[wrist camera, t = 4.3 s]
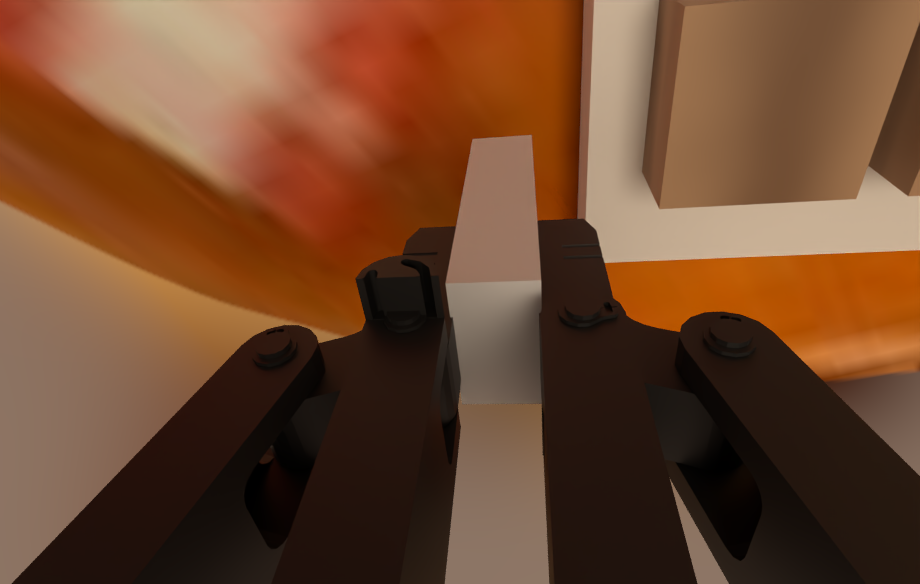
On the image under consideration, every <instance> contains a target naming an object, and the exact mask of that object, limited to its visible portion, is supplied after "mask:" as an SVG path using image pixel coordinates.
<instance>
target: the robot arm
mask: <svg viewBox="0 0 920 584" xmlns="http://www.w3.org/2000/svg"><path fill="white" fill-rule="evenodd" d="M356 283H357V287H358V290H359V294H360V298H361V302H362V306H363V310H364V314H365V318H366V321H365V324H364V327H363V330H362V331H360V332H358V333H355V334H352V335H349V336H346V337H343V338H339V339H335V340H331V341H326V342H323V343H318V340H317V337H316V335H314V333H313V332H312V331H311V330H310V329H308V328H305V327H302V326H299V325H283V326H279V327H274V328H271V329H267V330H265V331H263V332H261V333H259V334H257V335H255V336H253V337H252V338H250V339H249V340H248V341H247V342H246V343H244V344H243V345H241V347H240V348H239V349H238V350H237V351H236V352H235V353H234V354H233V355H232V356H231V357H230V358H229V359H228V360H227V361H226V362H225V363H224V364H223V365H222V366H221V367H220V369H218V370H217V371H216V372H215V374H214V375H213V376H212V377H211V378H210V379H209V380H208V381H207V382H206V383H205V384H204V385H203V386H202V387H201V388H200V389H199V390H198V391H197V392H196V393H195V394H194V395H193V396H192V397H191V398H190V399H189V400H188V402H187V403H186V404H185V405H184V406H183V407H182V408H181V409H180V410H179V411H178V412H177V413H176V414H175V415H174V416H173V417H172V418H171V419H170V420H169V421H168V422H167V423H166V424H165V425H164V426H163V427H162V428H161V429H160V430H159V431H158V433H157V434H156V435H155V436H154V437H153V438H152V439H151V440H150V441H149V442H148V443H147V444H146V445H145V446H144V447H143V448H142V449H141V450H140V451H139V452H138V453H137V454H136V455H135V456H134V458H132V459H131V460H130V462H129V463H128V464H127V465H126V466H125V467H124V468H123V469H122V470H121V471H120V472H119V473H118V474H117V475H116V476H115V477H114V478H113V479H112V480H111V481H110V482H109V483H108V484H107V485H106V486H105V487H104V488H103V490H102V491H101V492H100V493H99V494H98V495H97V496H96V497H95V498H94V499H93V500H92V501H91V502H90V503H89V504H88V505H87V506H86V507H85V508H84V509H83V510H82V511H81V512H80V513H79V514H78V516H77V517H76V518H75V519H74V520H73V521H72V522H71V523H70V524H69V525H68V526H67V527H66V528H65V529H64V530H63V531H62V532H61V533H60V534H59V535H58V536H57V537H56V538H55V540H53V541H52V542H51V543H50V545H48V547H47V548H46V549H45V550H44V551H43V552H42V553H41V554H40V555H39V556H38V557H37V558H36V559H35V560H34V561H33V562H32V563H31V564H30V565H29V566H28V567H27V568H26V569H25V571H23V572H22V573H21V575H19V577H18V578H17V579H16V580H15V581H14V582H13V583H12V584H445V574H446V564H447V555H448V545H449V535H450V526H451V525H450V524H451V516H452V506H453V496H454V487H455V476H456V468H457V458H458V447H459V439H460V429H461V426H460V420H459V412H458V402H459V393H460V392H461V399H462V404H542V440H543V455H544V476H545V496H546V497H545V498H546V520H547V541H548V561H549V562H548V563H549V583H550V584H697V581H696V577H695V573H694V569H693V565H692V562H691V558H690V554H689V551H688V546H687V543H686V539H685V536H684V531H683V528H682V524H681V520H680V516H679V512H678V509H677V505H676V501H675V497H674V493H673V490H672V486H671V482H670V479H671V481H672V483H673V485H674V486H675V488H676V490H677V492H678V494H679V495H680V497H681V499H682V501H683V502H684V504H685V506H686V508H687V510H688V511H689V513H690V515H691V517H692V518H693V520H694V522H695V524H696V526H697V527H698V529H699V531H700V533H701V535H702V536H703V538H704V540H705V541H706V543H707V545H708V547H709V549H710V551H711V552H712V554H713V556H714V558H715V560H716V561H717V563H718V565H719V566H720V568H721V570H722V572H723V574H724V576H725V577H726V579H727V581H728V582H729V584H920V476H919V475H918V474H917V473H916V472H915V471H914V470H913V469H912V468H911V467H910V466H909V465H908V464H907V463H906V462H905V461H904V460H903V459H902V458H901V457H900V456H899V455H898V454H897V453H896V452H895V451H894V450H893V449H892V448H891V447H890V446H889V445H888V444H887V443H886V442H885V441H884V440H883V439H882V438H880V437H879V436H878V435H877V434H876V433H875V432H874V431H873V430H872V429H871V428H870V427H869V426H868V425H867V424H866V423H865V422H864V421H863V420H862V419H861V418H860V417H859V416H858V415H857V414H856V413H855V412H854V411H853V410H852V409H851V408H850V407H849V406H848V405H847V404H846V403H845V402H844V401H843V400H842V399H841V398H840V397H839V396H838V395H837V394H836V393H835V392H834V391H833V390H832V389H831V388H830V387H828V385H827V384H826V383H825V382H824V381H823V380H822V379H821V378H820V377H818V376H817V375H816V374H815V373H814V372H813V371H812V370H811V369H810V368H809V367H808V366H807V365H806V364H805V363H804V362H803V361H802V360H801V359H800V358H799V357H798V356H797V355H796V354H795V353H794V352H793V351H792V350H791V349H790V348H789V347H788V346H787V345H786V344H785V343H784V342H783V341H782V340H781V339H780V338H779V337H778V336H777V335H776V334H775V333H774V332H773V331H771V330H770V329H768V328H767V327H766V326H764V325H763V324H761V323H760V322H758V321H756V320H753V319H751V318H748V317H746V316H743V315H740V314H734V313H728V312H705V313H702V314H699V315H696V316H693V317H690V318H689V319H688V320H687V321H686V322H685V323H684V324H683V325H682V326H681V331H680V332H676V331H670V330H665V329H660V328H655V327H651V326H647V325H644V324H641V323H639V322H637V321H634V320H632V319H631V318H629V317H628V316H626V312H625V311H624V309H623V307H622V306H621V304H620V303H619V302H618V301H616V300H615V299H613V296H612V292H611V288H610V283H609V279H608V275H607V271H606V267H605V263H604V259H603V258H602V251H601V247H600V243H599V239H598V235H597V231H596V229H595V228H594V227H592V226H591V225H590V224H589V223H588V222H587V221H586V220H584V219H563V220H542V221H537V209H536V194H535V179H534V164H533V149H532V135H524V136H509V137H494V138H480V139H473V140H472V145H471V150H470V156H469V161H468V166H467V172H466V177H465V182H464V188H463V193H462V198H461V204H460V209H459V214H458V220H457V225H456V226H454V227H433V228H420V229H419V230H418V231H417V232H415V233H414V234H413V235H412V236H411V237H410V238H409V239H408V240H407V242H406V245H405V248H404V251H403V255H400V256H393V257H388V258H385V259H382V260H379V261H376V262H374V263H372V264H371V265H369V266H367V267H366V268H364V269H363V270H362V271H361V272H360V274H359V275H358V276H357V277H356ZM669 477H670V478H669Z"/></svg>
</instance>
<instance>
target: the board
mask: <svg viewBox="0 0 920 584" xmlns="http://www.w3.org/2000/svg"><path fill="white" fill-rule="evenodd" d="M658 8H659V0H584V8H583V43H582V78H581V112H580V147H579V181H578V216H577V219H584V220H586V221H587V222H588V223H589V224H590V225H591V226H592V227H594V228H595V229H596V231H597V235H598V239H599V243H600V247H601V251H602V258H603V259H604V263H609V262H634V261H659V260H683V259H708V258H733V257H758V256H783V255H807V254H832V253H857V252H882V251H907V250H920V196H907V195H906V194H904V193H903V192H902V191H900V190H899V189H898V188H897V187H895V186H894V185H893V184H891V183H890V182H889V181H887V180H886V179H885V178H884V177H882V176H881V175H880V174H878V173H877V172H876V171H874V170H873V169H872V168H870V167H869V166H868V168H867V170H866V173H865V176H864V179H863V182H862V184H861V187H860V190H859V193H858V196H857V198H856V199H848V200H829V201H809V202H790V203H771V204H751V205H732V206H712V207H693V208H674V209H659V208H658V205H657V203H656V201H655V199H654V197H653V195H652V192H651V190H650V188H649V186H648V184H647V182H646V180H645V177H644V175H643V173H642V166H643V156H644V146H645V136H646V126H647V117H648V107H649V97H650V87H651V77H652V67H653V57H654V47H655V38H656V28H657V18H658Z"/></svg>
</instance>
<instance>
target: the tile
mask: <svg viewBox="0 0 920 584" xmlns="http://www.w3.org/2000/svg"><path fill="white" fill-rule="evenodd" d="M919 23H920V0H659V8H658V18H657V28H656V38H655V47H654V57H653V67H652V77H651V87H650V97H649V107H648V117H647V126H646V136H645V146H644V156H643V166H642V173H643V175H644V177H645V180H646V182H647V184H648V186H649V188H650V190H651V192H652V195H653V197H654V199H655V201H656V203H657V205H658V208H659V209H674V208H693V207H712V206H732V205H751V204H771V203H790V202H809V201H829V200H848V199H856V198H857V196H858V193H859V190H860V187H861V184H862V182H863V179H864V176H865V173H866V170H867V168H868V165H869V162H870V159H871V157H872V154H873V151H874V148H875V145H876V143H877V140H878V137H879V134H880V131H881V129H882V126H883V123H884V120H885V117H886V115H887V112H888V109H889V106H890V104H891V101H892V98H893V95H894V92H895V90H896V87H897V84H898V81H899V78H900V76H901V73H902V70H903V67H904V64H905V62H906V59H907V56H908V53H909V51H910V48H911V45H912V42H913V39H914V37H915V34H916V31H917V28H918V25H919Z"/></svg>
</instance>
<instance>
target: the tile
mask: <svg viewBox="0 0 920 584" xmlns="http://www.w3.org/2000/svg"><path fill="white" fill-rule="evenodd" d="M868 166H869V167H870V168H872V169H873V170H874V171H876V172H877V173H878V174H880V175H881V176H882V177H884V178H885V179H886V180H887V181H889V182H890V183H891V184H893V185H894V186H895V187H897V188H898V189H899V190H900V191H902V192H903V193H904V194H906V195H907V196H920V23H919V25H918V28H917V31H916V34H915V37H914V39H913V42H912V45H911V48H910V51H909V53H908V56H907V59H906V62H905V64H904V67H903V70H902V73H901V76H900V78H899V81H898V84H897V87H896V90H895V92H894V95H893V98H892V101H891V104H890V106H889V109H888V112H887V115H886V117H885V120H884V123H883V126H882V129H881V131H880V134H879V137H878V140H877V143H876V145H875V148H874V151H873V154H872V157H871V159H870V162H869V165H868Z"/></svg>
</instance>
